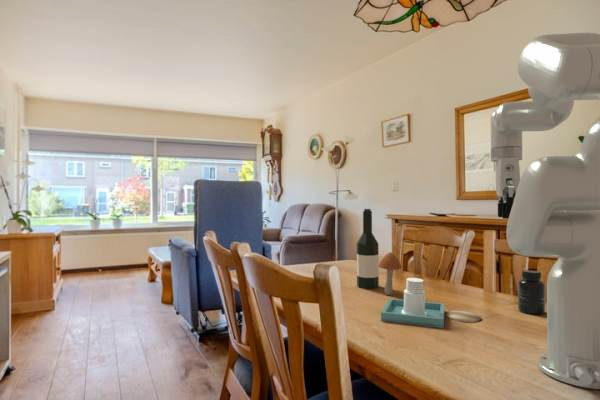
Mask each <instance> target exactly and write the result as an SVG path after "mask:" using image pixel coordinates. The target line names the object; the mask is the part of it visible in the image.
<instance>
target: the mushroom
mask: <svg viewBox="0 0 600 400" xmlns="http://www.w3.org/2000/svg"><path fill="white" fill-rule="evenodd" d="M378 265H379V268H381V269H384V270H386V281H385V284H384V285H385V286H384V294H385V295H386V296H393V292H394V291H393V277H394V271H395V270H396V271H398V270H401V269H402V268H403V267H402V265H401V262H400V260H399V259H398V257H397V256H396V255H395V254H394V253H393V252H388V253H387V254H385V255H384V256H383V257H382V259H380V261H379V262H378Z"/></svg>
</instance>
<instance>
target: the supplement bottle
mask: <svg viewBox="0 0 600 400" xmlns="http://www.w3.org/2000/svg"><path fill="white" fill-rule="evenodd" d="M521 278H522V279H519V280H518V282H517V283H518V285H517V297H518V298H517V305H518V306H517V309H518V311H519V312H521V313H524V314H528V315H535V316H537V315H539V316H540V315H542V316H543V315H544V314H545V313H546V284H545V283H544V281H542V280H541V279H542V273H541V272H540V271H538V270H537V271H536V270H528V269H526V270H525V269H524V270H522V271H521Z"/></svg>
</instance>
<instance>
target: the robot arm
mask: <svg viewBox="0 0 600 400" xmlns="http://www.w3.org/2000/svg"><path fill="white" fill-rule="evenodd" d="M517 62H518V63H517V71H518V72H517V73H518V76H519V78H520V79H521V80H522V82H523V83H525V85H527V91H528V95H529V97H530V99H531V100H523V101H507V102H502V103H501V104H499V106H498V107H497V108H496V109H495V111H494V112H493V113H491V116H490V162H492V163H493V162H494V163H495V193H496V196H497V197H498V198H497V199H498V200H497V201H498V203H497V217H498V218H502V219H506V220H507V219H508V220H507V224H506V234H505V235H506V236H505V237H506V241H507V244H508V246H509V248H510V249H511V250H512V251H513V252H514V253H515V254H517V255H518V256H519V255H520V256H523V257H531V258H532V257H533V258H534V257H535V258H537V257H538V258H539V257H540V258H541V257H542V258H557V260H556V261H555V262H554V264H553V265H552V267H551V268H550V271H549V272H548V274H547V280H546V318H547V319H546V321H547V322H546V329H547V330H546V343H547V344H546V345H547V346H546V348H547V351H546V354H545V355H542V356H540V357H539V358H538V360H537V365H538V368H539V370H540V371H541V372H543V373H544V374H545V375H547V376H548V377H551V378H553V379H555V380H556V381H560V382H563V383H566V384H569V385H572V386H576V387H580V388H585V389H593V390H600V116H598V118H596V120H594V122H593V123H592V124H591V125H590V126H589V128H587V130H586V132H585V135H584V137H583V141H582V143H581V146H580V147H579V150H578V151H577V152H576V153H574V154H573V155H564V156H563V155H562V156H561V155H560V156H559V155H557V156H556V155H555V156H553V155H552V156H545V157H540V158H537V159H535V160H533V161H532V162H530V163H528V165H527V166H526V167H525V169H524V170H523V172H522V175H521V170H520V161H523V132H545V131H550V130H553V129H554V128H556V127H558V126H559V125H561V124H562V123H563V122H565V121H566V120H567V119H568V118H570V117H569V116H570V115H571V113H572V111H573V109H574V105H575V101H591V100H593V101H594V100H596V101H597V100H599V101H600V33H597V32H572V33H571V32H569V33H558V34H557V33H556V34H542V35H539V36H536V37H534V38H532V39H531V40H530V41H529V42H528V43H527V44H526V45H525V46H524V48H523V49H522V51H521V53H520V55H519V58H518V60H517Z"/></svg>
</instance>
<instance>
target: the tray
mask: <svg viewBox="0 0 600 400" xmlns="http://www.w3.org/2000/svg"><path fill="white" fill-rule="evenodd" d="M403 309H404V299H399V298H391V297H390V298H389V299H388V301H387V302H386V304H385V306H384V307H383V309H382V311H381V312H380V314H381V315H380V321H381V322H389V323H396V324H397V323H398V324H404V325H415V326H423V327H431V328H440V329H444V326H445V325H444V323H445V303H443V302H441V303H439V302H432V301H431V302H430V301H425V312H426V313H427V316H419V315H410V314H402V313H401V311H402V310H403Z"/></svg>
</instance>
